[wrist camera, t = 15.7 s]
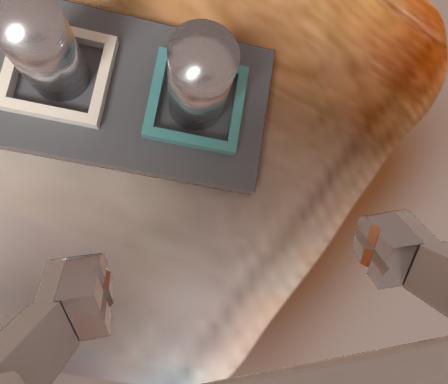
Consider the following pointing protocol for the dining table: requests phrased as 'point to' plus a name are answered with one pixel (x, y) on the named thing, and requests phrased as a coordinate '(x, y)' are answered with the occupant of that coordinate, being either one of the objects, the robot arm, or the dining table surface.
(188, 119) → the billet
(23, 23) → the grey tall round-topped piece
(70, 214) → the dining table surface
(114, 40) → the grey flat plate
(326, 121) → the dining table surface
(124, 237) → the dining table surface
